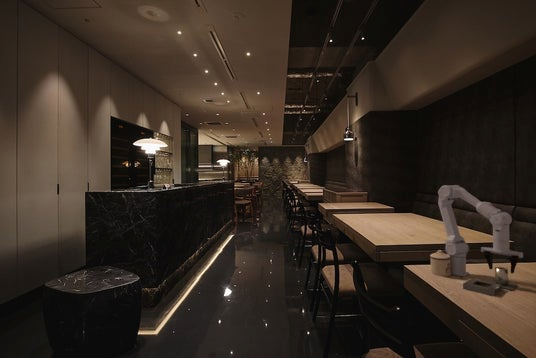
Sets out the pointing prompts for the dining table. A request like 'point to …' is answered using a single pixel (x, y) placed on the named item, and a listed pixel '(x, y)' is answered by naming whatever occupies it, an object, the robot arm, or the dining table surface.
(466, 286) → the block
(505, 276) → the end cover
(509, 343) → the dining table surface
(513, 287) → the rubber mat
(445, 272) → the teacup with lid
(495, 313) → the dining table surface
